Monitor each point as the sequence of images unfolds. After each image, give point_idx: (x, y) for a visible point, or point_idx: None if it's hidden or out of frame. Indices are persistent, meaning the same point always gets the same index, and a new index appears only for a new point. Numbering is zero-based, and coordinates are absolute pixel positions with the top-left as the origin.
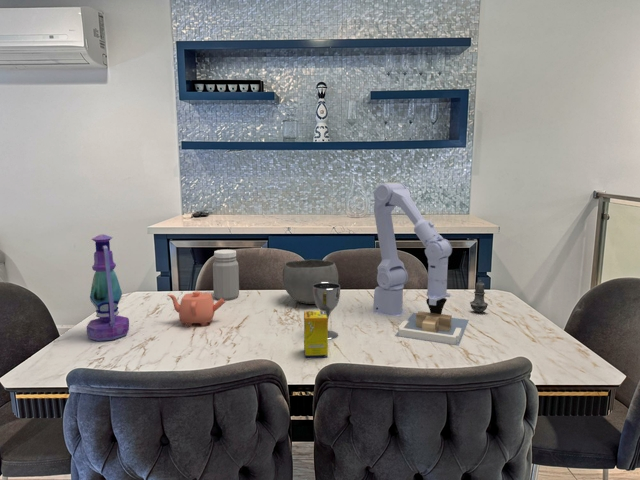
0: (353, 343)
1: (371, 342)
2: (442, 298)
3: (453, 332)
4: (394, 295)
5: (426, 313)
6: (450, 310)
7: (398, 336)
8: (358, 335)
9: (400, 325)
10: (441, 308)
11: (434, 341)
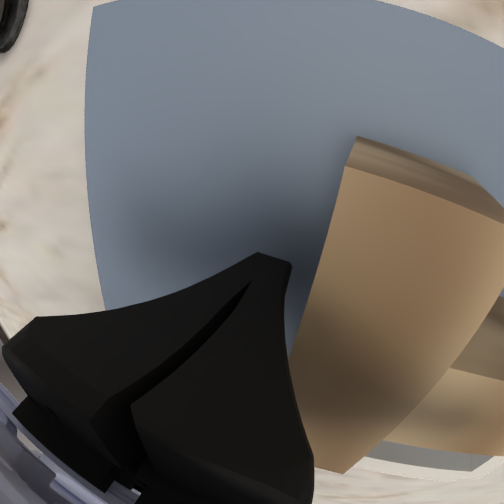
0: (477, 499)
1: (487, 482)
2: (35, 397)
3: (486, 138)
4: (137, 491)
5: (306, 430)
6: (6, 147)
7: None
8: (420, 500)
9: (431, 478)
10: (293, 396)
11: None
